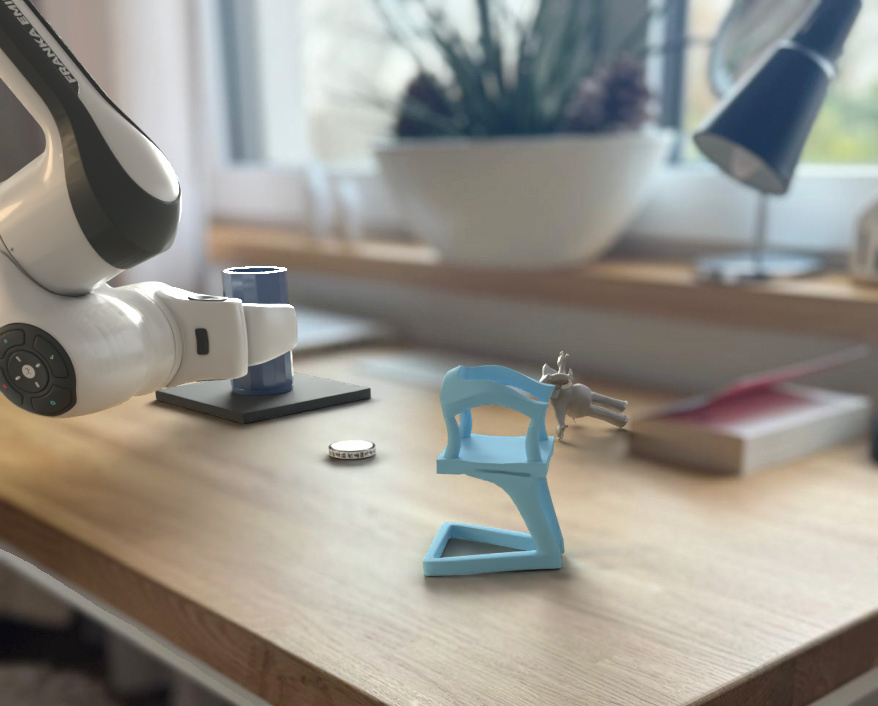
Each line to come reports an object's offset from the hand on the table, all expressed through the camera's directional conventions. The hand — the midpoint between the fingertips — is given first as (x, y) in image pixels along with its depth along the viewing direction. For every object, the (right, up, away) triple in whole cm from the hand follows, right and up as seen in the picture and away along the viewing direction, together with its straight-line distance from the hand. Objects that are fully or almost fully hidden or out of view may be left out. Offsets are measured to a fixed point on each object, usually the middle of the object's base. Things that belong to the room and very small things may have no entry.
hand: (225, 314), depth 104 cm
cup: (+2, -6, +9) cm, 11 cm away
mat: (+2, -6, +9) cm, 12 cm away
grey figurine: (+33, -12, -4) cm, 35 cm away
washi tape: (+13, -15, -12) cm, 23 cm away
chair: (+24, -24, -35) cm, 49 cm away
